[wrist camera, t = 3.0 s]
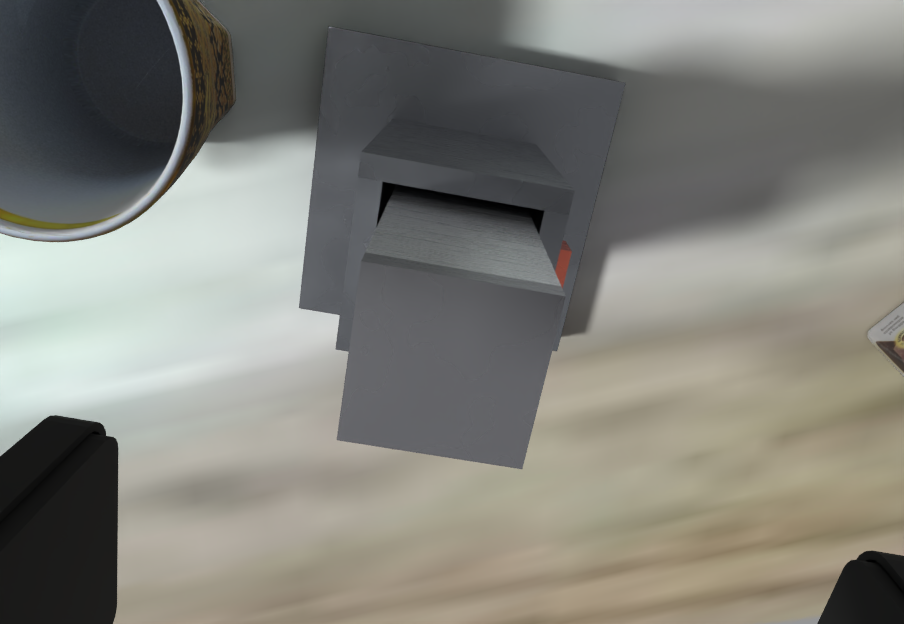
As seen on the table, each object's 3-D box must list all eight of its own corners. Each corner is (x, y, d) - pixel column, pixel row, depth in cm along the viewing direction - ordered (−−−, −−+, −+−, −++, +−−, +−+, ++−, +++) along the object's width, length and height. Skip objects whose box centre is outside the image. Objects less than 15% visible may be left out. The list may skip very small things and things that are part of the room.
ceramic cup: (136, -130, 26) (-41, -229, 17) (327, 70, 29) (264, 80, 20) (-47, 112, 30) (-279, 140, 20) (139, 272, 32) (8, 363, 23)
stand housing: (335, 27, 28) (259, 13, 17) (617, 81, 29) (711, 99, 18) (305, 296, 32) (230, 419, 22) (552, 338, 33) (598, 476, 22)
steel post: (412, 148, 28) (361, 261, 13) (508, 165, 28) (565, 296, 13) (398, 241, 29) (336, 439, 14) (489, 257, 30) (521, 469, 15)
